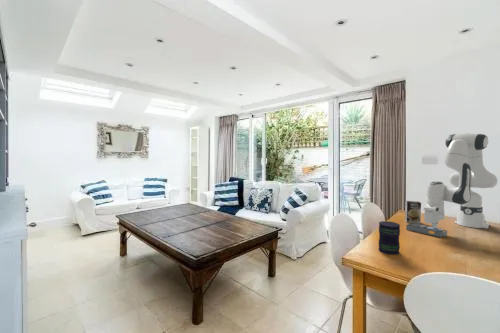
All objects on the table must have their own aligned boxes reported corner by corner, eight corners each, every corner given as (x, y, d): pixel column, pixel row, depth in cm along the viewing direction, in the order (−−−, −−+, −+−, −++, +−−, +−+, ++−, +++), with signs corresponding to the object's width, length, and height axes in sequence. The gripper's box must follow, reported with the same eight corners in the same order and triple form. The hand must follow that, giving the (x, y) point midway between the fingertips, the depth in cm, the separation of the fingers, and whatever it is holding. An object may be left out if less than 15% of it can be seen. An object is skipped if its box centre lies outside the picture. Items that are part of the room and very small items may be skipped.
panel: (429, 231, 162) (429, 226, 162) (443, 234, 156) (443, 229, 156) (426, 232, 160) (426, 227, 159) (439, 235, 153) (440, 230, 153)
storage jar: (399, 256, 124) (400, 227, 123) (377, 252, 129) (378, 224, 128) (399, 250, 132) (400, 222, 131) (379, 246, 137) (379, 220, 137)
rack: (412, 227, 173) (412, 222, 172) (447, 235, 155) (447, 229, 155) (406, 229, 168) (406, 224, 168) (441, 238, 151) (441, 231, 151)
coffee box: (406, 222, 186) (407, 201, 185) (404, 220, 192) (405, 200, 191) (420, 223, 182) (421, 202, 181) (418, 221, 188) (419, 201, 187)
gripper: (436, 204, 165) (436, 224, 166) (422, 207, 154) (421, 229, 155) (447, 205, 160) (447, 226, 160) (433, 209, 149) (433, 231, 150)
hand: (434, 227), depth 158 cm, fingers closed
